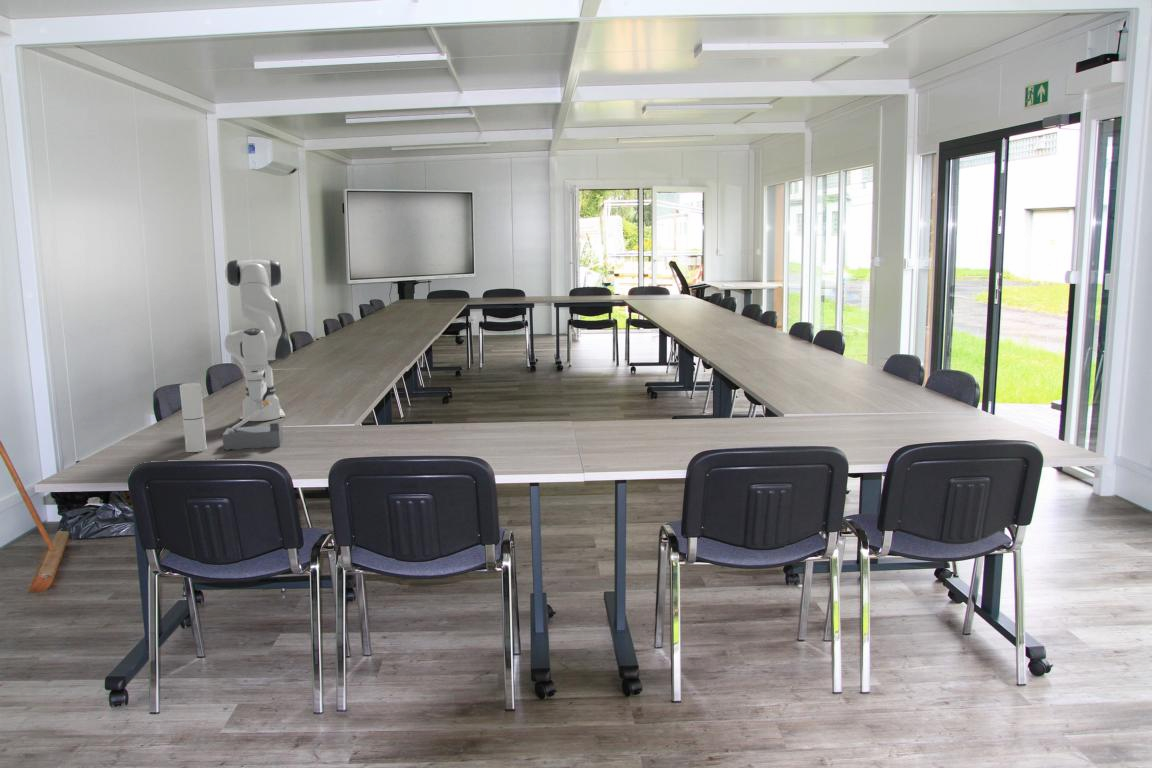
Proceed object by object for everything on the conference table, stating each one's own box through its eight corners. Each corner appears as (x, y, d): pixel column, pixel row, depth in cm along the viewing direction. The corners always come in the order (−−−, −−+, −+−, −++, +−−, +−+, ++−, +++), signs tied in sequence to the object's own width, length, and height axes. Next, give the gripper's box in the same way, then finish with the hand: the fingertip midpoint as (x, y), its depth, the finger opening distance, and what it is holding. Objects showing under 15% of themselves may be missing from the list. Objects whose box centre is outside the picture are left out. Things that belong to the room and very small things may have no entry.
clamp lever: (233, 429, 329) (229, 423, 328) (272, 404, 330) (267, 398, 330) (232, 431, 325) (227, 426, 324) (270, 406, 327) (266, 400, 326)
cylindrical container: (188, 454, 318) (181, 387, 313) (184, 450, 323) (177, 384, 319) (208, 450, 322) (202, 384, 317) (204, 447, 327) (198, 382, 323)
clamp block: (228, 443, 333) (226, 420, 331) (283, 439, 337) (281, 417, 335) (223, 450, 322) (221, 426, 321) (280, 446, 326) (278, 423, 325)
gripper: (251, 368, 335) (254, 403, 337) (244, 376, 315) (247, 413, 317) (268, 367, 336) (271, 402, 338) (262, 375, 316) (265, 412, 319)
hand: (259, 408), depth 328 cm, fingers closed, pressing on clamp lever
